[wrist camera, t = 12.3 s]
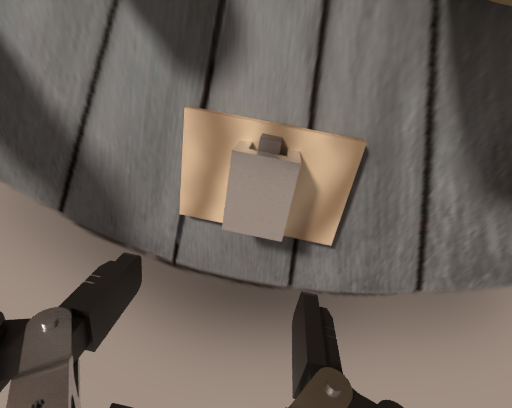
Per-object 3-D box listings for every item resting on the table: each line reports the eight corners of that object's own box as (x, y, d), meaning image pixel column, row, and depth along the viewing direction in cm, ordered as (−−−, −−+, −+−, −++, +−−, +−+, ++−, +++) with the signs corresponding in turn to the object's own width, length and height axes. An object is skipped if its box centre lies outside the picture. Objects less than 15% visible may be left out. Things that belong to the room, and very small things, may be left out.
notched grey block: (231, 209, 30) (221, 229, 26) (240, 139, 27) (231, 150, 23) (283, 220, 30) (281, 241, 26) (299, 151, 27) (301, 163, 23)
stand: (184, 208, 33) (170, 224, 29) (189, 106, 28) (174, 110, 24) (329, 238, 32) (334, 258, 29) (363, 139, 27) (374, 148, 23)
